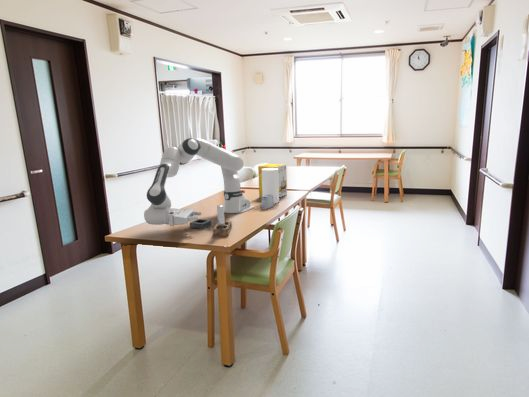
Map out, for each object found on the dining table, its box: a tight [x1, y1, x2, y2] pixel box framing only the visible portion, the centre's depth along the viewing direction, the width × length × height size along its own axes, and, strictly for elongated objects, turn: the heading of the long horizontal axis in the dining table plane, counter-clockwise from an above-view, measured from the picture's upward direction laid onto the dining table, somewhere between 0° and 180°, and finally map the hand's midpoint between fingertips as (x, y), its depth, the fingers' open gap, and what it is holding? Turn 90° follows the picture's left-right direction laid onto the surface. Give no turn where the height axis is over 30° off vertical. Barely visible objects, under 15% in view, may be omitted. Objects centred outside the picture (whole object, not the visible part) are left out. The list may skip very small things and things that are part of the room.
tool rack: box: [212, 221, 233, 237], centre depth 211 cm, size 8×15×4 cm, turn 178°
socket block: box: [189, 218, 213, 230], centre depth 225 cm, size 9×9×3 cm
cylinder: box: [262, 168, 280, 204], centre depth 280 cm, size 12×12×25 cm
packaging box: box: [257, 163, 288, 198], centre depth 301 cm, size 16×16×25 cm
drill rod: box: [216, 204, 226, 229], centre depth 206 cm, size 4×4×16 cm
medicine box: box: [260, 195, 274, 210], centre depth 265 cm, size 8×4×9 cm, turn 141°
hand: (199, 215), depth 206 cm, fingers open, 8 cm apart
